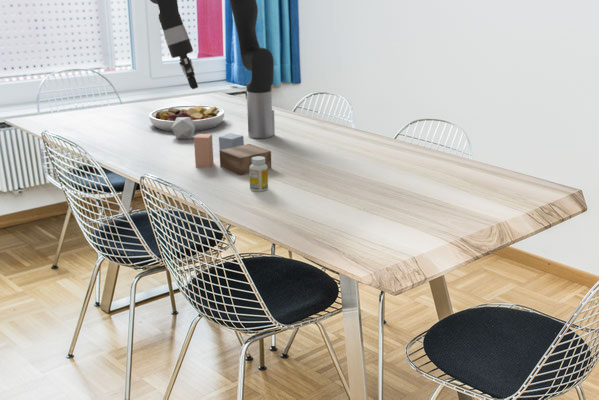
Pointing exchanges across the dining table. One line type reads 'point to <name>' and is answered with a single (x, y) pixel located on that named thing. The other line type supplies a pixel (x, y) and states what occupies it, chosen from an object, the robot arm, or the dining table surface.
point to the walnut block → (242, 158)
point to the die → (183, 128)
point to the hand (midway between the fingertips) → (194, 87)
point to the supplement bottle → (258, 174)
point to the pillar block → (203, 150)
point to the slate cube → (230, 141)
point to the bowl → (199, 115)
